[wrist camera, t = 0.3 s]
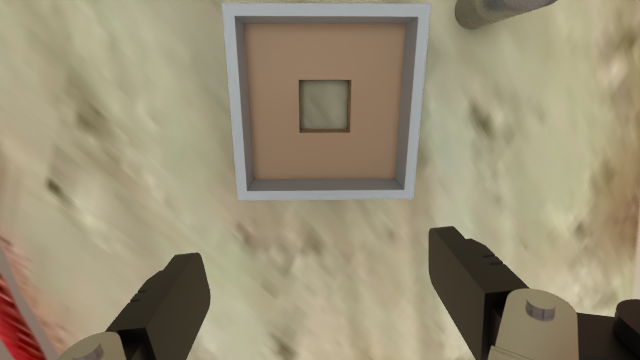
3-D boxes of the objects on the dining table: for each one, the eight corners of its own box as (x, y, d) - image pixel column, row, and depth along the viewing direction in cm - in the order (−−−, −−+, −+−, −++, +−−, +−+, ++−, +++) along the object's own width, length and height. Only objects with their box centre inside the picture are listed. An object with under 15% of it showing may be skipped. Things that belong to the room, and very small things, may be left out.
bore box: (239, 18, 34) (221, 2, 27) (408, 18, 34) (431, 3, 28) (250, 180, 39) (237, 200, 33) (396, 179, 40) (413, 199, 33)
